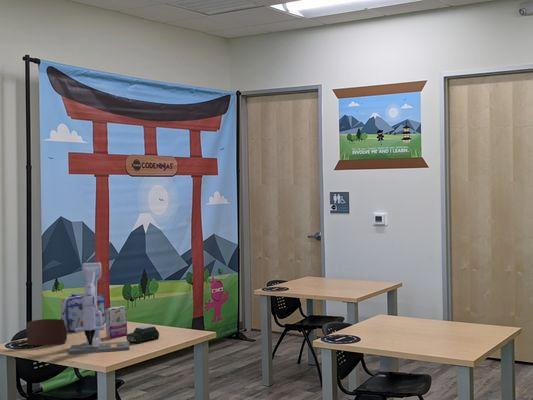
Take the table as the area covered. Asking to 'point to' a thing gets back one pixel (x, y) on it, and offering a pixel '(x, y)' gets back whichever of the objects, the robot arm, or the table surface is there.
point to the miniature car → (143, 334)
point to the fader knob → (95, 342)
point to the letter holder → (46, 332)
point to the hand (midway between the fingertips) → (90, 344)
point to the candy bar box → (116, 322)
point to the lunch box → (78, 310)
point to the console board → (99, 347)
